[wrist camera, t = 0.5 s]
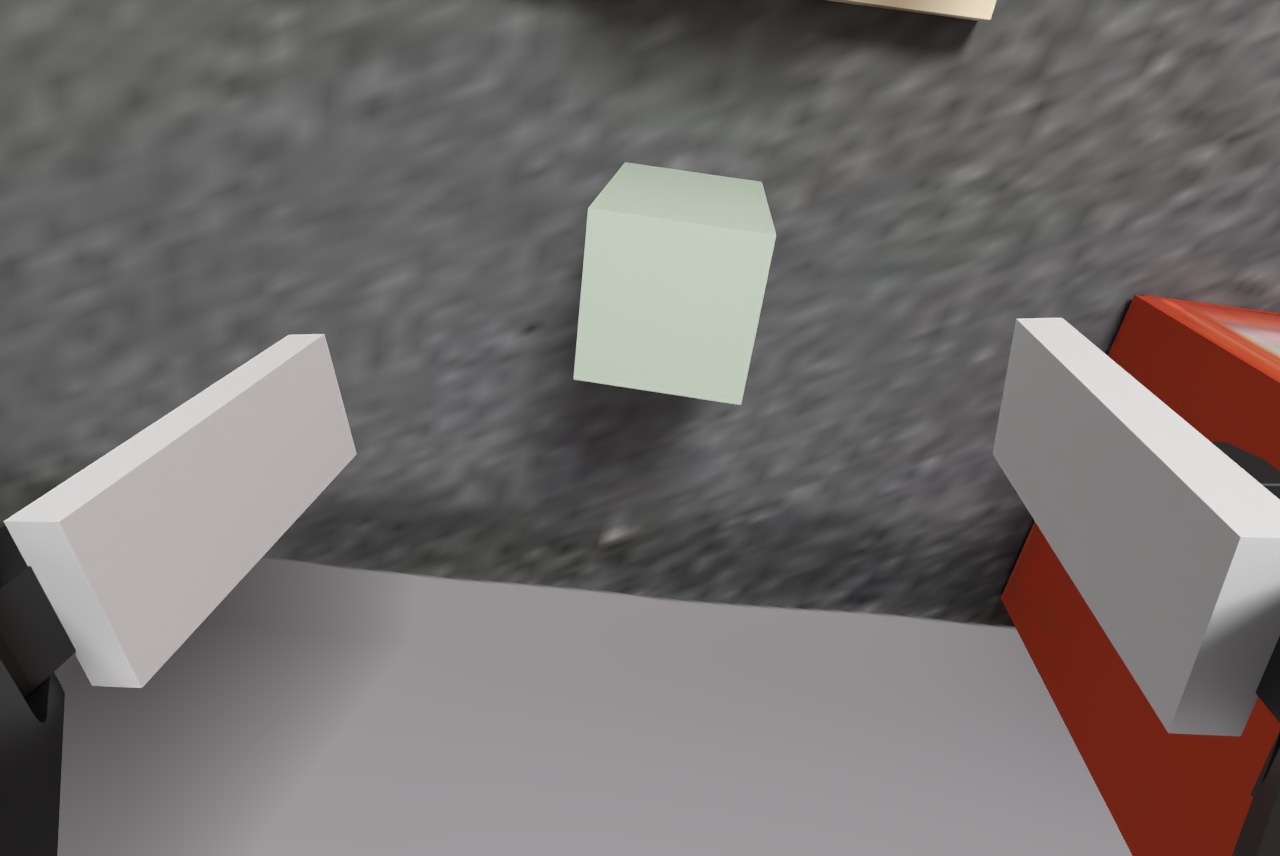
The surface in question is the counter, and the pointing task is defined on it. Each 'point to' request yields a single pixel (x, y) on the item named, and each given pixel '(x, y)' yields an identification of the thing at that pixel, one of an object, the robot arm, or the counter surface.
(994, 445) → the robot arm
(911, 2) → the tan piece
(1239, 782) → the file binder
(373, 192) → the counter surface
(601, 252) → the sage pillar
